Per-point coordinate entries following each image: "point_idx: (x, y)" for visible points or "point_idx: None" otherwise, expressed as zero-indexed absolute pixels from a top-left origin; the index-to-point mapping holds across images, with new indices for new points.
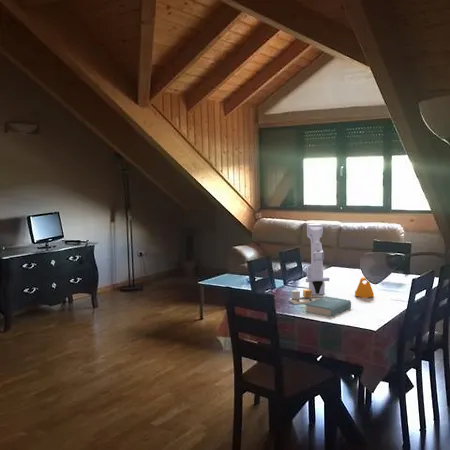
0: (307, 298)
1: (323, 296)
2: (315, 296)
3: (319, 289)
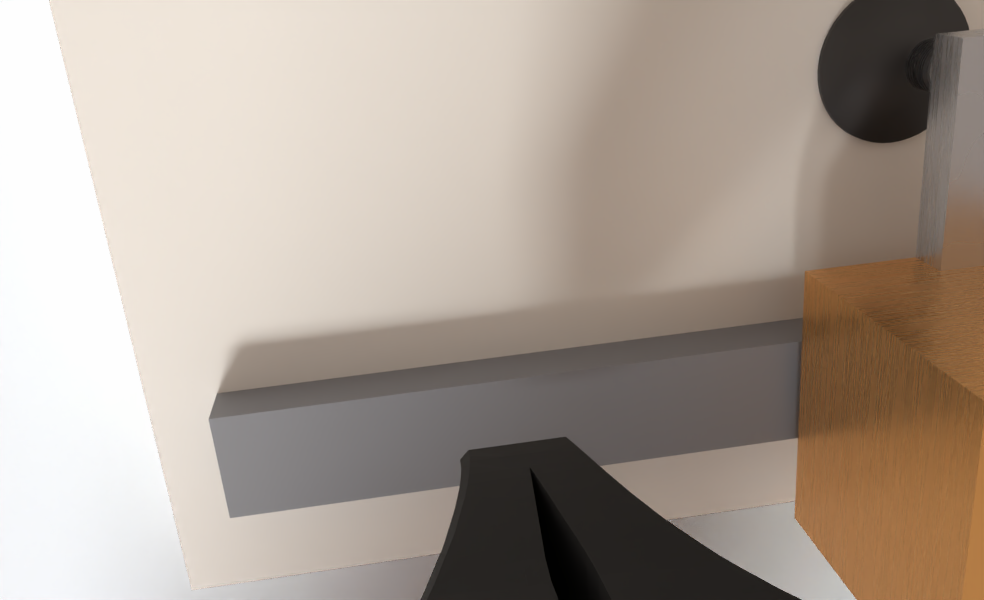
0: None
1: (226, 434)
2: None
3: (481, 549)
